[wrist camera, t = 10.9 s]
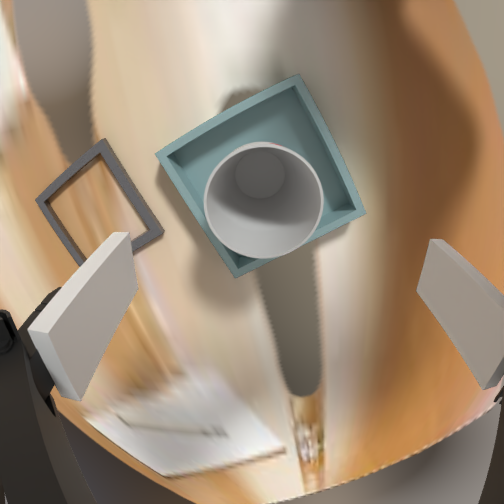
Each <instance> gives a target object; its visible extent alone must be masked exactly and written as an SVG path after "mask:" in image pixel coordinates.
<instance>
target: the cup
mask: <svg viewBox="0 0 504 504" xmlns="http://www.w3.org/2000/svg"><path fill="white" fill-rule="evenodd" d="M323 205H324V197H323V190H322V186H321V182H320V180H319V178H318V176H317V174H316V172H315V170H314V169H313V168H312V166H311V165H310V164H309V163H308V162H307V161H306V160H305V159H304V158H303V157H302V156H300V155H299V154H297V153H296V152H294V151H292V150H290V149H288V148H286V147H283V146H281V145H278V144H275V143H271V142H253V143H249V144H246V145H243V146H241V147H239V148H237V149H235V150H234V151H232V152H231V153H230V154H229V155H228V156H226V157H225V158H224V159H223V160H222V161H221V162H220V163H219V164H218V165H217V166H216V167H215V169H214V170H213V172H212V173H211V175H210V177H209V179H208V182H207V184H206V188H205V192H204V211H205V216H206V219H207V222H208V224H209V226H210V228H211V230H212V232H213V233H214V234H215V236H216V237H217V238H218V239H219V240H220V241H221V242H222V243H223V244H224V245H225V246H227V247H228V248H229V249H231V250H233V251H234V252H236V253H239V254H241V255H244V256H247V257H252V258H274V257H279V256H282V255H285V254H288V253H290V252H292V251H294V250H295V249H297V248H298V247H300V246H301V245H303V244H304V243H305V242H306V241H307V240H308V239H309V238H310V237H311V235H312V234H313V233H314V231H315V230H316V228H317V226H318V224H319V222H320V219H321V216H322V212H323Z"/></svg>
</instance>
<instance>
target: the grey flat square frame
mask: <svg viewBox="0 0 504 504" xmlns="http://www.w3.org/2000/svg"><path fill="white" fill-rule="evenodd" d="M100 153H101V155H102V156H103V158H104V160H105V161H106V163H107V164H108V166H109V168H110V169H111V171H112V172H113V174H114V176H115V177H116V179H117V180H118V182H119V183H120V185H121V187H122V188H123V190H124V191H125V193H126V194H127V196H128V197H129V199H130V201H131V202H132V204H133V205H134V207H135V208H136V210H137V211H138V213H139V214H140V216H141V217H142V219H143V220H144V222H145V223H146V225H147V226H148V228H149V230H147V231H146V232H144V233H143V234H141V235H139V236H138V237H136V238H135V239H133V240H132V241H131V247H132V252H133V251H134V250H136V249H138V248H139V247H141V246H143V245H144V244H146V243H148V242H149V241H151V240H153V239H154V238H156V237H157V236H159V235H161V234H163V232H164V231H165V230H164V229H163V227H162V226H161V224H160V223H159V221H158V220H157V218H156V217H155V215H154V214H153V212H152V211H151V209H150V208H149V206H148V205H147V203H146V202H145V200H144V199H143V197H142V196H141V194H140V193H139V191H138V190H137V188H136V186H135V185H134V183H133V182H132V180H131V179H130V177H129V175H128V174H127V172H126V171H125V169H124V167H123V166H122V164H121V163H120V161H119V159H118V158H117V156H116V155H115V153H114V151H113V150H112V148H111V146H110V145H109V143H108V141H107V140H106V138H104V139H101V140H100V141H99V142H98V143H97V144H95V145H94V146H93V147H92V148H90V149H89V150H88V151H87V152H86V153H85V154H83V155H82V156H81V157H80V158H79V159H78V160H77V161H75V162H74V163H73V164H72V165H71V166H70V167H69V168H68V169H66V170H65V171H64V172H63V173H62V174H61V175H60V176H59V177H58V178H57V179H56V180H55V181H54V182H53V183H52V184H50V185H49V186H48V187H47V188H46V189H45V190H44V191H43V192H42V193H41V194H40V195H39V196H38V197H37V198H36V199H35V201H36V202H37V204H38V206H39V207H40V209H41V210H42V212H43V214H44V215H45V217H46V218H47V220H48V221H49V223H50V224H51V226H52V228H53V229H54V231H55V232H56V234H57V235H58V237H59V238H60V239H61V241H62V242H63V244H64V245H65V247H66V248H67V250H68V251H69V252H70V254H71V255H72V257H73V258H74V259H75V261H76V262H77V264H78V265H79V266H80V267H81V266H82V264H83V263H84V262H85V261H86V260H87V259H86V257H85V256H84V255H83V253H82V252H81V250H80V249H79V248H78V246H77V245H76V243H75V242H74V240H73V239H72V238H71V236H70V235H69V233H68V232H67V230H66V229H65V227H64V226H63V224H62V223H61V221H60V220H59V218H58V217H57V215H56V213H55V212H54V210H53V209H52V207H51V206H50V204H49V202H48V201H47V200H48V199H49V198H50V197H51V196H52V195H53V194H54V193H55V192H56V191H57V190H58V189H59V188H61V187H62V186H63V185H64V184H65V183H66V182H67V181H68V180H69V179H71V178H72V177H73V176H74V175H75V174H76V173H77V172H79V171H80V170H81V169H82V168H83V167H84V166H86V165H87V164H88V163H89V162H90V161H92V160H93V159H94V158H95V157H96V156H98V155H99V154H100Z"/></svg>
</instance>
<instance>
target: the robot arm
mask: <svg viewBox="0 0 504 504" xmlns="http://www.w3.org/2000/svg"><path fill="white" fill-rule="evenodd" d="M137 290H138V283H137V278H136V272H135V266H134V260H133V253H132V247H131V240H130V233H129V232H113V233H112V234H111V235H110V236H109V237H108V238H107V239H106V240H105V241H104V242H103V243H102V244H101V245H100V246H99V247H98V249H97V250H96V251H95V252H94V253H93V254H92V255H91V256H90V257H89V258H88V259H87V260H86V261H85V262H84V263H83V264H82V266H81V267H80V268H79V269H78V270H77V271H76V272H75V273H74V274H73V275H72V277H71V278H70V279H69V280H68V281H67V282H66V283H65V284H64V286H63V287H59V288H57V289H55V290H54V291H52V292H51V293H49V294H48V295H47V296H46V297H45V299H44V300H43V301H42V302H41V304H39V306H38V307H37V308H36V309H35V311H33V313H32V314H31V315H30V316H29V317H28V319H27V320H26V321H25V322H24V324H23V325H22V326H21V327H20V328H19V330H18V331H17V328H16V326H15V324H14V322H13V319H12V317H11V314H10V312H8V311H6V310H0V504H5V495H6V498H7V502H8V504H97V502H96V500H95V498H94V496H93V495H92V493H91V491H90V489H89V487H88V485H87V482H86V481H85V478H84V476H83V474H82V472H81V470H80V467H79V465H78V463H77V461H76V458H75V456H74V454H73V451H72V449H71V446H70V444H69V441H68V439H67V436H66V434H65V431H64V428H63V425H62V423H61V420H60V417H59V414H58V411H57V408H56V405H55V402H54V399H53V397H52V396H51V394H50V392H51V390H52V388H53V386H54V384H55V386H56V388H57V390H58V391H59V393H60V395H61V397H65V398H69V399H73V400H77V401H81V400H82V398H83V396H84V394H85V392H86V389H87V387H88V385H89V383H90V381H91V379H92V377H93V375H94V373H95V371H96V368H97V366H98V364H99V362H100V360H101V358H102V356H103V354H104V352H105V350H106V348H107V346H108V344H109V342H110V341H111V339H112V337H113V335H114V333H115V331H116V329H117V327H118V325H119V323H120V321H121V320H122V318H123V316H124V314H125V312H126V310H127V308H128V307H129V305H130V303H131V301H132V299H133V297H134V296H135V294H136V292H137ZM416 292H417V293H418V294H419V296H420V297H421V298H422V300H423V301H424V302H425V304H426V305H427V306H428V308H429V309H430V311H431V312H432V313H433V315H434V316H435V318H436V319H437V320H438V322H439V323H440V325H441V326H442V328H443V329H444V331H445V332H446V333H447V335H448V336H449V338H450V339H451V341H452V342H453V344H454V345H455V347H456V348H457V350H458V351H459V353H460V354H461V356H462V358H463V359H464V361H465V362H466V364H467V365H468V367H469V369H470V370H471V372H472V373H473V375H474V377H475V378H476V380H477V382H478V383H479V385H480V387H481V388H482V390H485V389H488V388H491V387H494V386H497V384H498V383H499V381H500V380H501V378H502V376H503V375H504V295H503V294H502V293H501V292H500V291H499V290H498V289H497V288H496V287H495V286H494V285H493V284H492V283H491V282H490V281H489V280H487V279H486V278H485V277H484V276H483V275H482V274H481V273H480V272H479V271H478V270H477V269H476V268H475V267H474V266H473V265H471V264H470V263H469V262H468V261H467V260H466V259H465V258H464V257H463V256H461V255H460V254H459V253H458V252H457V251H456V250H455V249H453V248H452V247H451V246H450V245H449V244H448V243H446V242H445V241H444V240H443V239H430V241H429V245H428V249H427V253H426V257H425V261H424V265H423V269H422V272H421V276H420V279H419V283H418V286H417V289H416ZM500 397H502V400H501V401H500V403H499V404H501V412H500V418H499V424H498V430H497V436H496V440H495V445H494V450H493V454H492V459H491V463H490V467H489V471H488V475H487V478H486V481H485V485H484V488H483V491H482V494H481V497H480V500H479V503H478V504H504V386H503V387H502V389H501V390H500V392H499V393H498V395H497V396H496V397H495V400H494V402H497V400H498V399H499V398H500ZM4 492H5V494H4Z"/></svg>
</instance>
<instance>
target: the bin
mask: <svg viewBox="0 0 504 504" xmlns="http://www.w3.org/2000/svg"><path fill="white" fill-rule="evenodd" d="M253 142H271V143H275V144H278V145H281V146H283V147H286V148H288V149H290V150H292V151H294V152H296V153H297V154H299V155H300V156H302V157H303V158H304V159H305V160H306V161H307V162H308V163H309V164H310V165H311V166H312V168H313V169H314V170H315V172H316V174H317V176H318V178H319V180H320V182H321V186H322V190H323V197H324V205H323V212H322V216H321V219H320V222H319V224H318V226H317V228H316V230H315V231H314V233H313V234H312V235H311V237H310V238H309V239H308V240H307V241H306V242H305V243H304V244H307V243H309V242H310V241H313V240H315V239H317V238H319V237H321V236H323V235H325V234H327V233H329V232H331V231H332V230H334V229H336V228H338V227H340V226H342V225H344V224H346V223H348V222H350V221H352V220H354V219H356V218H358V217H360V216H362V215H364V214H366V211H365V209H364V206H363V204H362V202H361V199H360V197H359V194H358V192H357V190H356V187H355V185H354V183H353V180H352V178H351V176H350V174H349V171H348V169H347V167H346V165H345V162H344V160H343V158H342V156H341V154H340V152H339V150H338V147H337V145H336V143H335V141H334V139H333V137H332V135H331V133H330V131H329V129H328V127H327V125H326V123H325V121H324V119H323V117H322V115H321V113H320V111H319V109H318V107H317V106H316V104H315V102H314V100H313V98H312V96H311V94H310V93H309V91H308V89H307V87H306V85H305V84H304V82H303V80H302V78H301V76H300V75H299V74H297V75H294V76H292V77H290V78H288V79H286V80H284V81H281V82H279V83H277V84H275V85H273V86H271V87H269V88H267V89H265V90H263V91H261V92H259V93H257V94H255V95H253V96H251V97H250V98H248V99H246V100H244V101H242V102H240V103H238V104H236V105H234V106H233V107H231V108H229V109H227V110H225V111H224V112H222V113H220V114H218V115H217V116H215V117H213V118H211V119H210V120H208V121H206V122H204V123H203V124H201V125H199V126H198V127H196V128H194V129H193V130H191V131H189V132H188V133H186V134H185V135H183V136H181V137H180V138H178V139H177V140H175V141H174V142H172V143H170V144H169V145H167V146H166V147H164V148H163V149H161V150H160V151H158V152H157V153H155V155H156V156H157V158H158V160H159V161H160V163H161V164H162V166H163V168H164V169H165V171H166V172H167V174H168V176H169V177H170V179H171V180H172V182H173V184H174V185H175V187H176V188H177V190H178V191H179V193H180V195H181V196H182V198H183V199H184V201H185V202H186V204H187V206H188V207H189V209H190V210H191V212H192V213H193V215H194V216H195V218H196V220H197V221H198V223H199V224H200V226H201V227H202V229H203V230H204V232H205V233H206V235H207V236H208V238H209V240H210V241H211V243H212V244H213V246H214V247H215V249H216V250H217V252H218V253H219V255H220V256H221V258H222V259H223V261H224V262H225V264H226V265H227V267H228V268H229V270H230V271H231V273H232V274H233V276H234V277H235V278H237V277H239V276H241V275H244V274H246V273H248V272H250V271H252V270H254V269H256V268H258V267H260V266H262V265H264V264H266V263H268V262H270V261H272V260H274V259H276V258H278V257H274V258H252V257H247V256H244V255H241V254H239V253H236V252H234V251H233V250H231V249H229V248H228V247H227V246H225V245H224V244H223V243H222V242H221V241H220V240H219V239H218V238H217V237H216V236H215V234H214V233H213V232H212V230H211V228H210V226H209V224H208V222H207V219H206V216H205V211H204V192H205V188H206V184H207V182H208V179H209V177H210V175H211V173H212V172H213V170H214V169H215V167H216V166H217V165H218V164H219V163H220V162H221V161H222V160H223V159H224V158H225V157H226V156H228V155H229V154H230V153H231V152H232V151H234V150H235V149H237V148H239V147H241V146H243V145H246V144H249V143H253ZM304 244H303V245H304ZM301 246H302V245H301ZM279 257H280V256H279Z"/></svg>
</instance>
